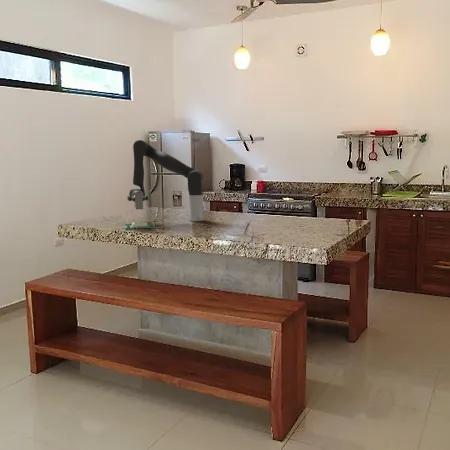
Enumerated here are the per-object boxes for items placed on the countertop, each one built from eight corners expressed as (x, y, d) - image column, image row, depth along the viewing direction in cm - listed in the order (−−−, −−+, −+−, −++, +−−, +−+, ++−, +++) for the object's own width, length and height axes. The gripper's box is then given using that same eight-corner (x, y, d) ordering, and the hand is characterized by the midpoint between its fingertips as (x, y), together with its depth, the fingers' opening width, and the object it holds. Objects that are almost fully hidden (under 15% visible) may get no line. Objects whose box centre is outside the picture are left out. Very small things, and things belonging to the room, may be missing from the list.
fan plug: (142, 208, 315) (142, 190, 313) (143, 209, 311) (142, 191, 309) (134, 208, 314) (134, 191, 312) (134, 209, 310) (134, 191, 308)
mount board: (153, 225, 323) (153, 220, 322) (155, 228, 309) (155, 223, 308) (125, 226, 319) (124, 221, 319) (125, 229, 306) (124, 224, 305)
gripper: (126, 191, 323) (126, 193, 307) (149, 190, 326) (150, 192, 310) (126, 203, 325) (127, 206, 308) (149, 202, 327) (150, 205, 311)
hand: (138, 199), depth 309 cm, fingers closed on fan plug, 5 cm apart
